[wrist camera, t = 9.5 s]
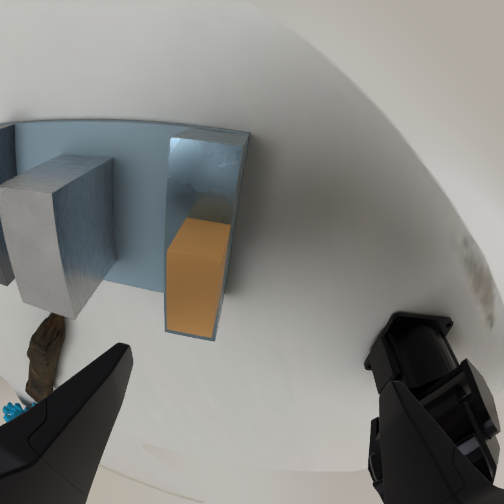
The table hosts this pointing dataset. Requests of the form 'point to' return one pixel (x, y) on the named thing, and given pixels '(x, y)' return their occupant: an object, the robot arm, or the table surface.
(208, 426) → the table surface
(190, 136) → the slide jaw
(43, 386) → the brown wooden stick
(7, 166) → the vise
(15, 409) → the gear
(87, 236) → the steel block
